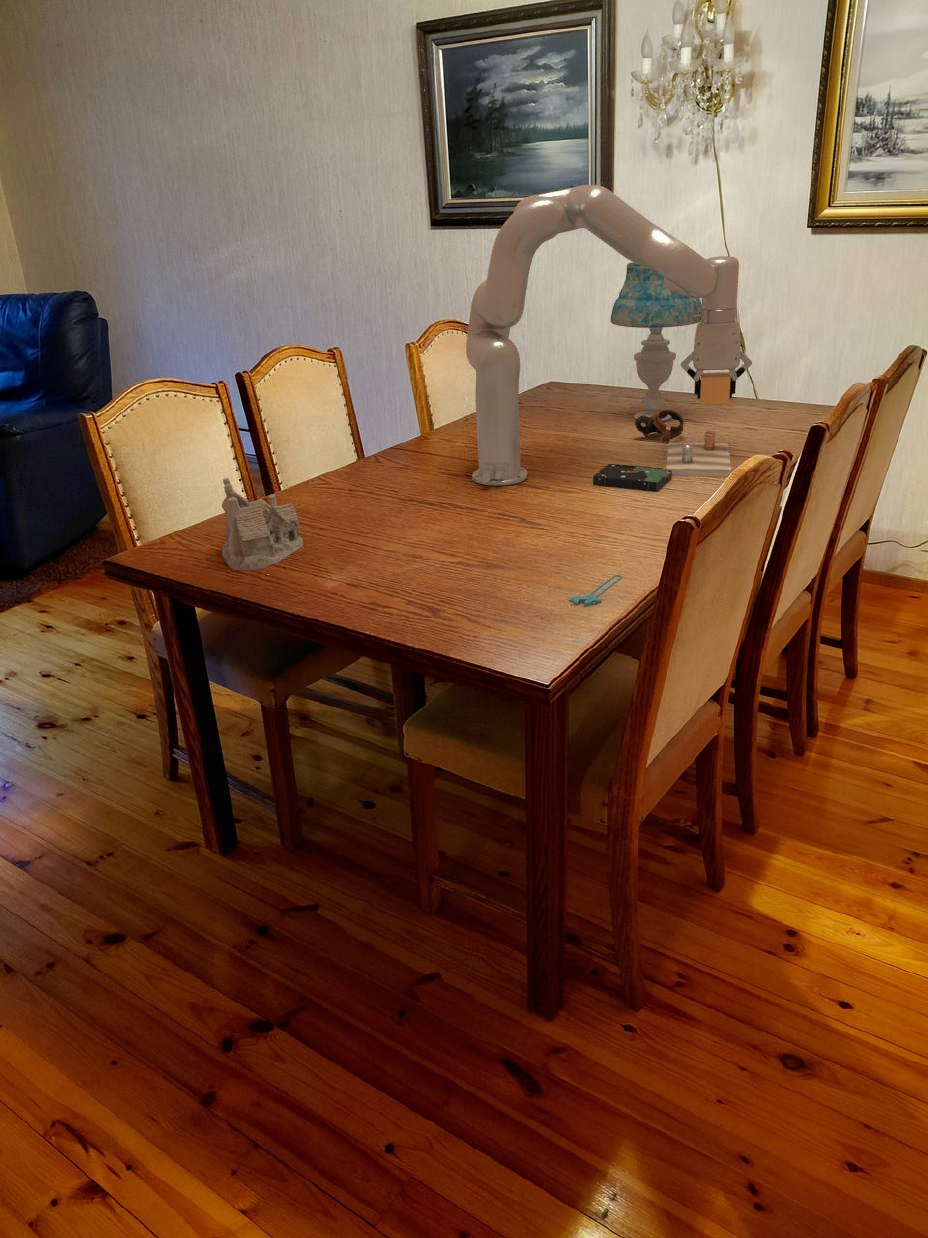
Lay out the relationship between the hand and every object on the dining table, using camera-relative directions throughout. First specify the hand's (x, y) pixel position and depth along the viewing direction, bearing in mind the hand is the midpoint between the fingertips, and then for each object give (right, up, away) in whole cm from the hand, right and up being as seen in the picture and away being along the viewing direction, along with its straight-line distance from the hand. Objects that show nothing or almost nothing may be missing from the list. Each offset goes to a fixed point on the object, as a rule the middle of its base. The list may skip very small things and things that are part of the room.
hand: (714, 396), depth 211 cm
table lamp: (-6, +4, +40) cm, 41 cm away
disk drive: (-21, -22, -9) cm, 31 cm away
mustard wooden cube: (0, -1, +1) cm, 1 cm away
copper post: (0, -11, +5) cm, 12 cm away
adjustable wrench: (-35, -47, -60) cm, 84 cm away
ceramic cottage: (-96, -39, -36) cm, 110 cm away
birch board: (-3, -15, +2) cm, 15 cm away
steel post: (-7, -16, -3) cm, 17 cm away
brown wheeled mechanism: (-8, -6, +22) cm, 24 cm away
